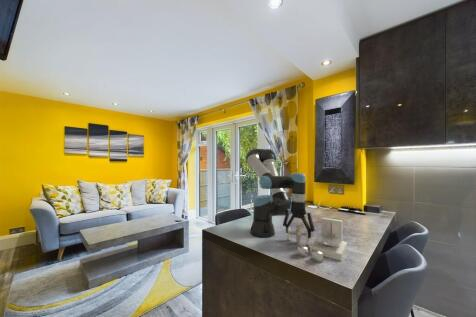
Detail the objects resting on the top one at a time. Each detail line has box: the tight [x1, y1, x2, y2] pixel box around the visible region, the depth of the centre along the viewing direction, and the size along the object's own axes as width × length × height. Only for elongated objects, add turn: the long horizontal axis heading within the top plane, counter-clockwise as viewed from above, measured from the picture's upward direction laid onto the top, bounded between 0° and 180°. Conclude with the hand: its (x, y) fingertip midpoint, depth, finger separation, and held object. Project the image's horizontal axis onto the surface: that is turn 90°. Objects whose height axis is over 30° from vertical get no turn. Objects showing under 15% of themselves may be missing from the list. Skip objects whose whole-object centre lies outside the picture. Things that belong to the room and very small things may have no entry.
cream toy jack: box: [289, 223, 307, 244], centre depth 111 cm, size 10×10×10 cm
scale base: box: [309, 217, 348, 261], centre depth 102 cm, size 14×18×14 cm
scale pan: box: [313, 233, 342, 247], centre depth 101 cm, size 11×11×1 cm
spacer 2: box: [311, 249, 324, 264], centre depth 91 cm, size 5×5×4 cm
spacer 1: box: [296, 244, 309, 258], centre depth 96 cm, size 5×5×4 cm
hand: (298, 241), depth 111 cm, fingers closed on cream toy jack, 10 cm apart
